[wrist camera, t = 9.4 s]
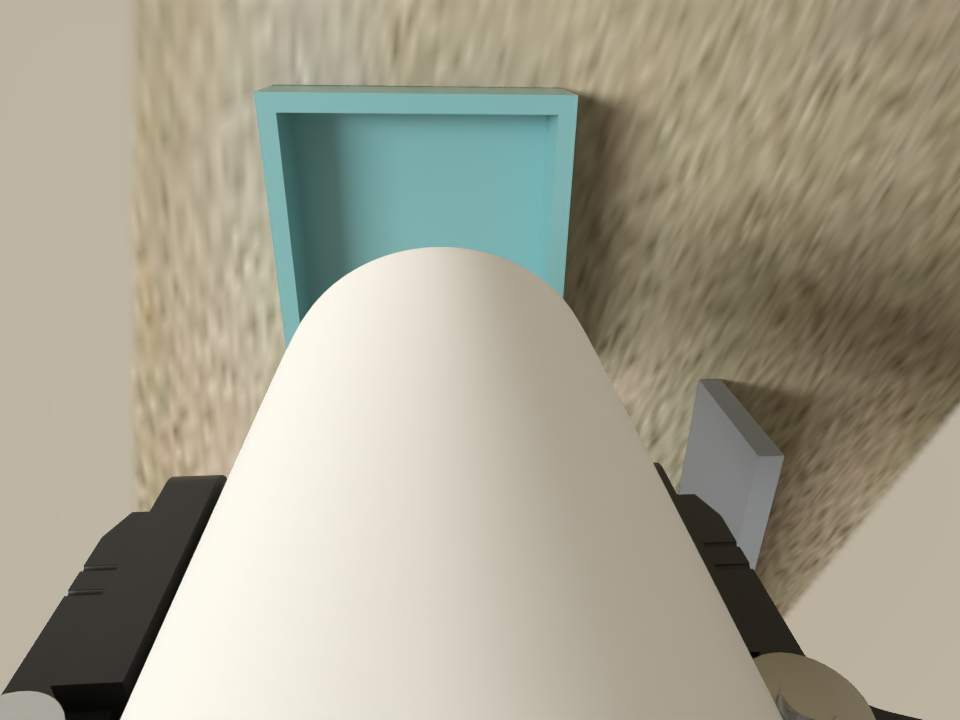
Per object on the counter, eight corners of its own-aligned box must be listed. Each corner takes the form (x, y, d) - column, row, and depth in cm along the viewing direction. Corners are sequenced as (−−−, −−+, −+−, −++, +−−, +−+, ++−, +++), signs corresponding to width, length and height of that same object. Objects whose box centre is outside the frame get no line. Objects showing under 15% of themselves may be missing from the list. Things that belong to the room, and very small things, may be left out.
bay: (399, 385, 29) (392, 466, 24) (720, 379, 30) (784, 455, 25) (409, 618, 35) (406, 724, 30) (675, 607, 36) (718, 707, 31)
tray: (274, 84, 23) (253, 91, 21) (561, 87, 24) (578, 95, 21) (303, 347, 28) (290, 381, 25) (545, 343, 29) (557, 376, 26)
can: (616, 467, 15) (1037, 1469, 5) (350, 536, 16) (181, 1606, 5) (557, 197, 13) (1300, 1205, 2) (233, 290, 13) (-721, 1566, 2)
